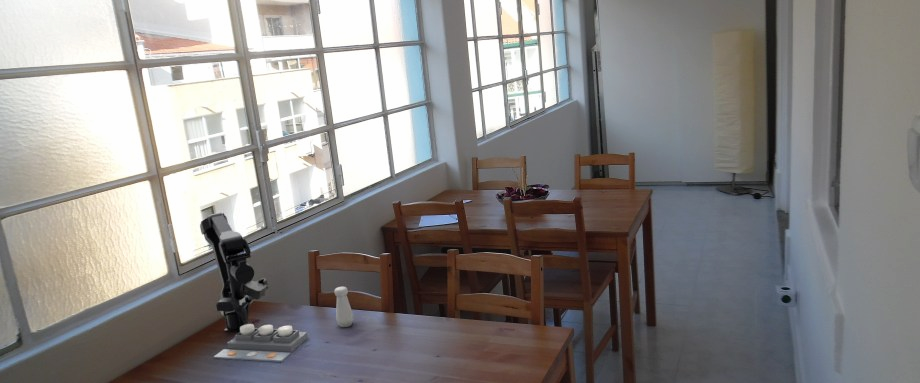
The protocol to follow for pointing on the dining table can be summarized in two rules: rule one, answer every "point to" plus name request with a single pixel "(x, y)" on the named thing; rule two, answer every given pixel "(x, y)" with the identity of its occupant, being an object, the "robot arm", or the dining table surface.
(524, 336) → the dining table surface
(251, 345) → the button board
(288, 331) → the button right
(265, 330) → the button middle
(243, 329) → the button left
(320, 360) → the dining table surface
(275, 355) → the pattern card
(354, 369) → the dining table surface
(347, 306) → the salt shaker
